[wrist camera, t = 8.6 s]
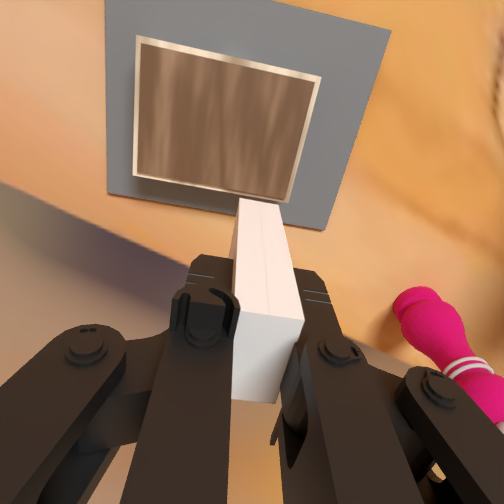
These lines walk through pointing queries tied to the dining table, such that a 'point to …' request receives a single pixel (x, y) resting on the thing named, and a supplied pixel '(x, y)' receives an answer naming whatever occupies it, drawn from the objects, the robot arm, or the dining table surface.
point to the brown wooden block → (219, 120)
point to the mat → (258, 50)
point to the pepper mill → (449, 348)
